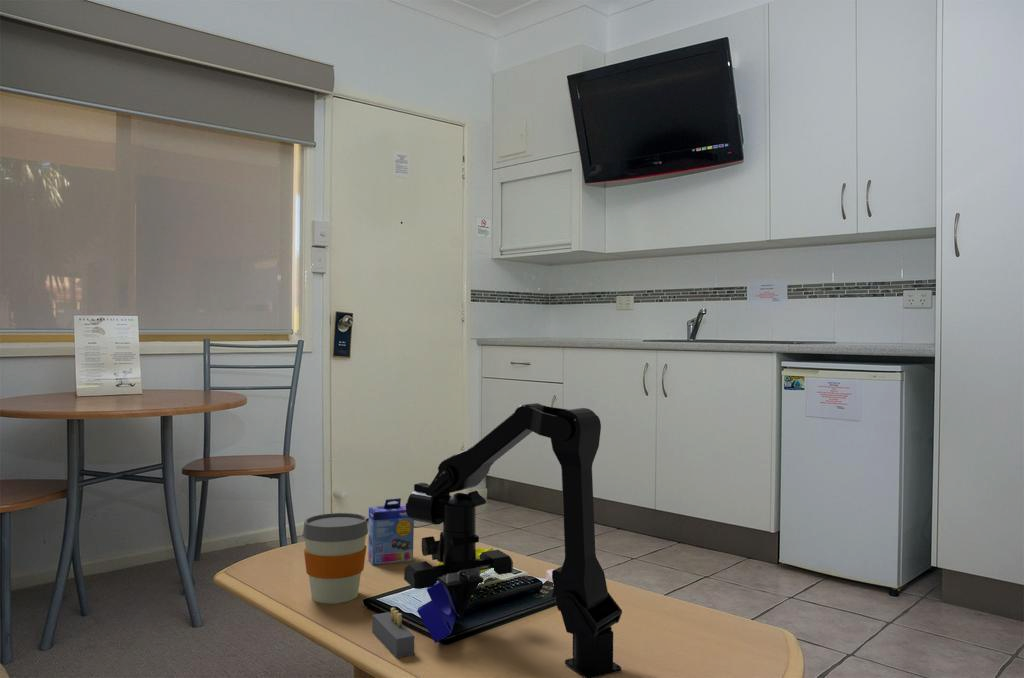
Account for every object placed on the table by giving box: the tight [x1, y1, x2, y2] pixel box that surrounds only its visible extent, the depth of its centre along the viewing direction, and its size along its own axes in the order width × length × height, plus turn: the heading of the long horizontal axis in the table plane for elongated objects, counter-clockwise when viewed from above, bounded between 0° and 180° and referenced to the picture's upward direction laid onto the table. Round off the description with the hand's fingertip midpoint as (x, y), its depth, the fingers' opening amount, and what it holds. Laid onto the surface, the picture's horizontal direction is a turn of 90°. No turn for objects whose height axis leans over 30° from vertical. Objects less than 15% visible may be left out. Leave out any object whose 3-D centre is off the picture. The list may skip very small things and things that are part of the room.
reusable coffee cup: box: [302, 512, 369, 604], centre depth 146 cm, size 13×13×15 cm
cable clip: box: [416, 580, 457, 644], centre depth 128 cm, size 12×4×6 cm, turn 178°
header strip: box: [371, 607, 415, 659], centre depth 123 cm, size 12×3×5 cm, turn 29°
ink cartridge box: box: [367, 497, 415, 566], centre depth 171 cm, size 10×6×14 cm, turn 115°
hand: (459, 616), depth 130 cm, fingers closed
